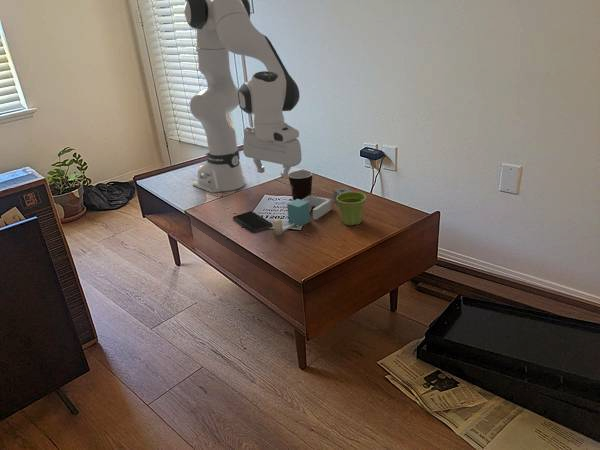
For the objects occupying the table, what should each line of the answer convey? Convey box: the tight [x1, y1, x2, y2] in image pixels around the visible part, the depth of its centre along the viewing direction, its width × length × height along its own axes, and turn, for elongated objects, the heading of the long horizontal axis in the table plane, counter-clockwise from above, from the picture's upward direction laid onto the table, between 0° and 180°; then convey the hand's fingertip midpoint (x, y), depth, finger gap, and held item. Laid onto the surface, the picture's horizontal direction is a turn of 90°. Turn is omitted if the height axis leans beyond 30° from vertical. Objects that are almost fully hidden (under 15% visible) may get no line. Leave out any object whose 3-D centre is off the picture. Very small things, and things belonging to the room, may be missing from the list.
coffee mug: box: [288, 169, 313, 201], centre depth 177 cm, size 12×9×10 cm
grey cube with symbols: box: [333, 186, 354, 208], centre depth 171 cm, size 5×5×5 cm
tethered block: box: [272, 199, 311, 237], centre depth 156 cm, size 5×14×7 cm, turn 138°
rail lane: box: [302, 194, 333, 220], centre depth 167 cm, size 9×10×4 cm
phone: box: [232, 210, 274, 234], centre depth 163 cm, size 8×1×15 cm
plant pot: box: [336, 191, 367, 226], centre depth 156 cm, size 9×9×9 cm
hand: (272, 174), depth 148 cm, fingers open, 8 cm apart
